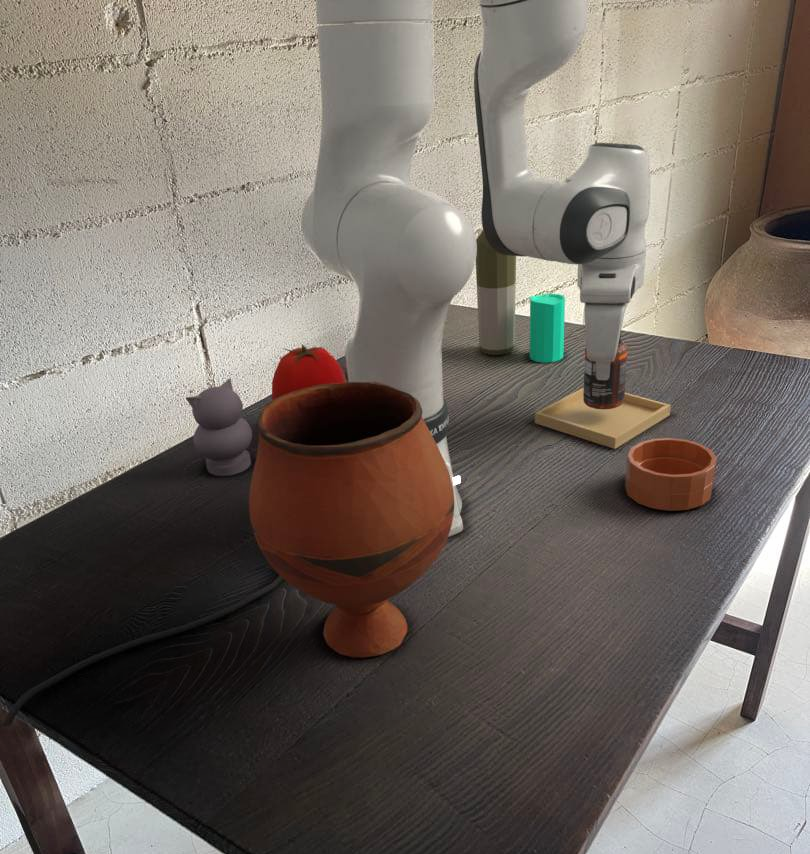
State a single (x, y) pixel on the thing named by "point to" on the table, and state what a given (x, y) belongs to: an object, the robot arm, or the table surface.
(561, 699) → the table surface
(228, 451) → the cat figurine
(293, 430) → the goblet
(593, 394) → the supplement bottle
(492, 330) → the bottle
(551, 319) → the candle
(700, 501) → the bowl
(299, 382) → the tomato
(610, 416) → the tray
